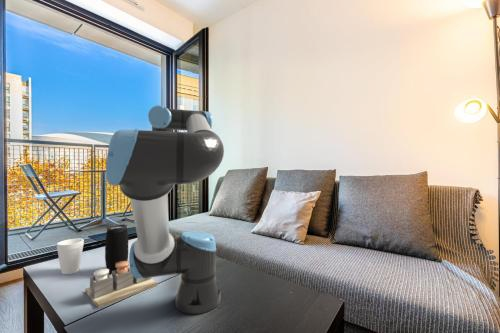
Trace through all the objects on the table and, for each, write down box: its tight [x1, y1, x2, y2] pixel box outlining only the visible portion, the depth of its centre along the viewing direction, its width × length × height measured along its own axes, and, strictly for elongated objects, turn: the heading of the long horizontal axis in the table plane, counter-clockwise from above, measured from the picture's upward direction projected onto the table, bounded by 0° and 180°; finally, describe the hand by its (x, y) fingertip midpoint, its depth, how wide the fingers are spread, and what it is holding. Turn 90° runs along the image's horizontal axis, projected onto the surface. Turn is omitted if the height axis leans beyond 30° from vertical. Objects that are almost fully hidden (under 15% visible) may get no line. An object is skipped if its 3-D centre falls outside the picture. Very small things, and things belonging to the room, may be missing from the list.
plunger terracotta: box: [116, 260, 130, 275], centre depth 89 cm, size 5×5×7 cm
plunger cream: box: [93, 268, 109, 282], centre depth 84 cm, size 5×5×7 cm
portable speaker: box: [104, 224, 129, 275], centre depth 105 cm, size 9×9×20 cm
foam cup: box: [56, 237, 85, 275], centre depth 104 cm, size 10×9×13 cm
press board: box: [84, 266, 158, 309], centre depth 89 cm, size 15×20×7 cm
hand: (161, 206), depth 94 cm, fingers closed
